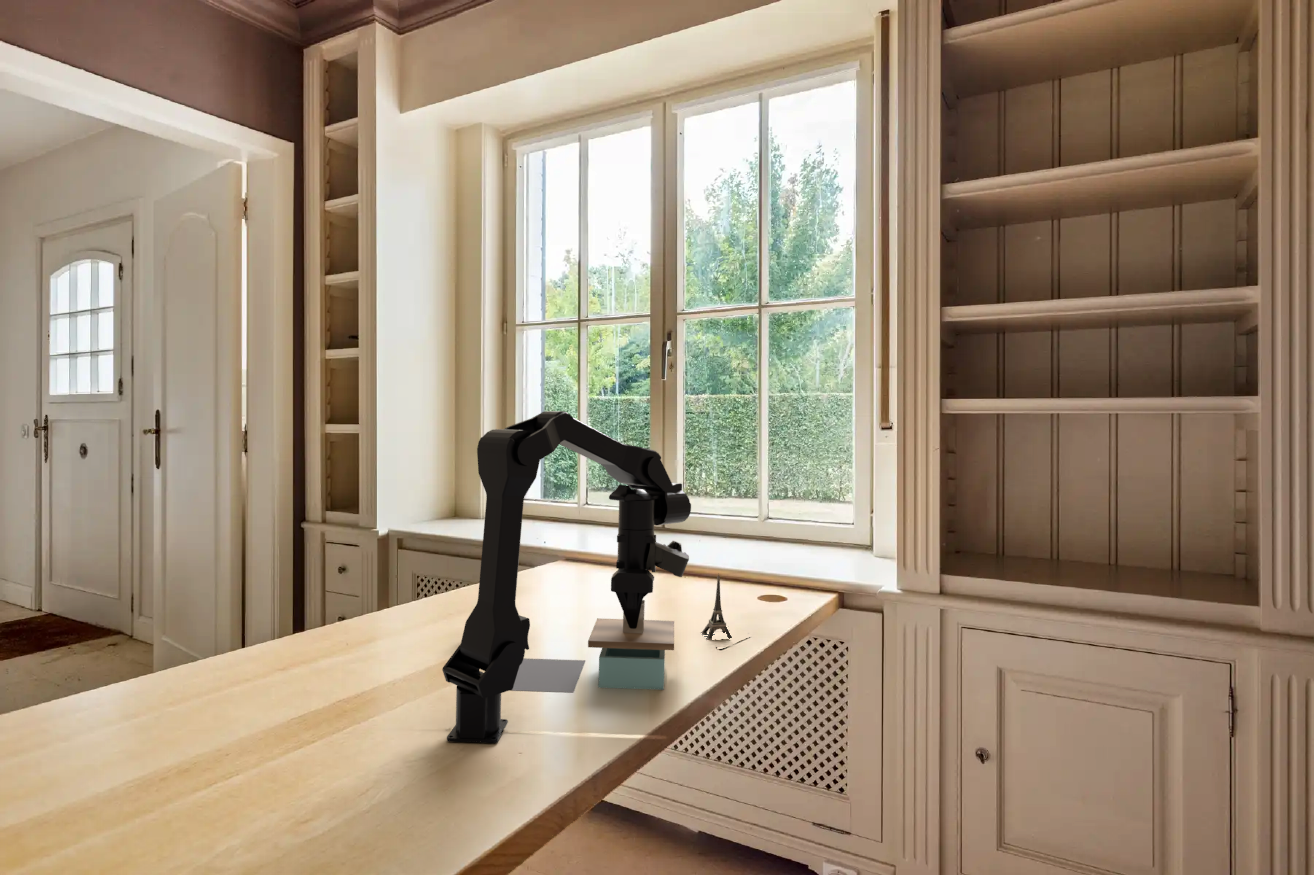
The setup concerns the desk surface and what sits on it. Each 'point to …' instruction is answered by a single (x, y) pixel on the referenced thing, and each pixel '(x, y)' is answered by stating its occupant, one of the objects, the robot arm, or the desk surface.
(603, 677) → the dish
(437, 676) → the desk surface
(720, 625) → the eiffel tower figurine
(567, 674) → the mat
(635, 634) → the lid
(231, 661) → the desk surface
